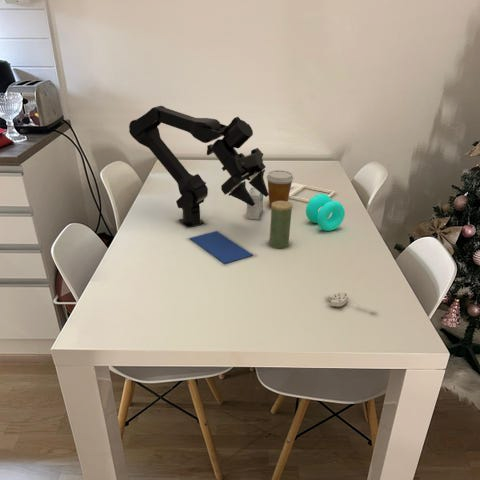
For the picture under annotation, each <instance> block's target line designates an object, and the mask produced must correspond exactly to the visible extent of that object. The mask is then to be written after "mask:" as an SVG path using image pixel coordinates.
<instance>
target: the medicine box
mask: <svg viewBox="0 0 480 480" xmlns="http://www.w3.org/2000/svg"><path fill="white" fill-rule="evenodd" d="M248 193H249V194H250V196H251V197H252V199H253V201H254V203H255V205H254V206H251V205H249V204H247V203H246V219H248V220H257V221H258V220H260V218H261V216H262V213H263V208H264V195H263V194H261V193H260V192H259V191H258V190H257V189H255V188H254V187H253V186H252V187H251V188H250V189H249V191H248Z"/></svg>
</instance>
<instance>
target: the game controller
mask: <svg viewBox="0 0 480 480" xmlns="http://www.w3.org/2000/svg"><path fill="white" fill-rule="evenodd" d="M328 301H329V302H330V306H332V307H342V306H344V305H346V304H347V303H349V304H350V302H349V294H348V293H346V292H343V291H338V292H337V294H330V295H328ZM351 304H356V305H357V306H359V304H358V303H355V302H351ZM364 310H365V311H366V310H367V308H366V309H365V308H364ZM370 311H372V312H373V310H372V309H370Z"/></svg>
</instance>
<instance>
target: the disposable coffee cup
mask: <svg viewBox="0 0 480 480" xmlns="http://www.w3.org/2000/svg"><path fill="white" fill-rule="evenodd" d="M265 178H266V180H267V191H268V194H269V195H268V204H269V205H268V207H269V208H270V209H271V208H272V206H271V205H272V203H273V202H275V201H287V202H289V199H290V198H289V193H290V188H291V184H292V183H293V181H294V176H293V173H292V172H291V171H288V170H281V169H278V170H275V169H274V170H271V171H268V173H267V175H266V177H265Z"/></svg>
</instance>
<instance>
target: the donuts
mask: <svg viewBox="0 0 480 480" xmlns="http://www.w3.org/2000/svg"><path fill="white" fill-rule="evenodd" d="M328 195H329V194H325V193H318V194H315V195H314V196H312V197H311V198H310V199H309V200H310V201H309V202H307V204H306V207H305V215H306V217H307V219H308V220H309V221H310V222H311V223H314V224H317V225H318V227H319V228H320V229H321V230H323V231H326V232H331V231H334V230H335V229H337V228H338V227H340V225H341V224H342V223H343V221H344V219H345V214H346V213H345V211H346V210H345V207H344V205H343V203H341V202H340V201H338V200H332V198H331V197H329V196H328Z"/></svg>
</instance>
